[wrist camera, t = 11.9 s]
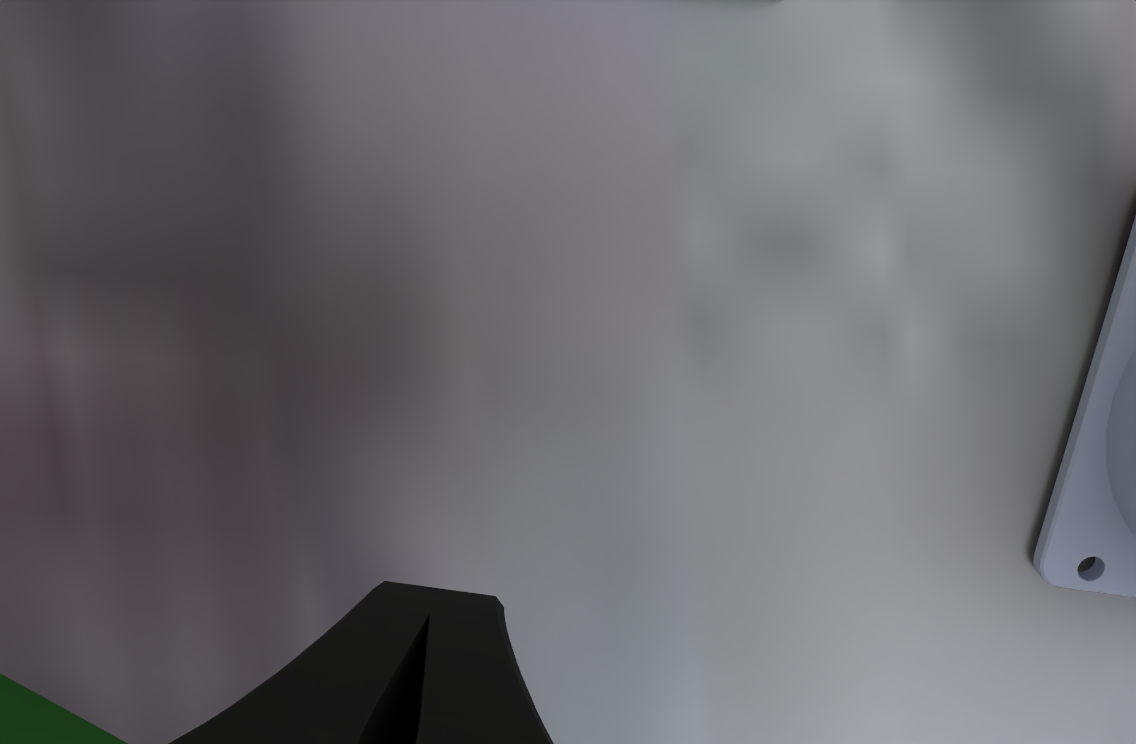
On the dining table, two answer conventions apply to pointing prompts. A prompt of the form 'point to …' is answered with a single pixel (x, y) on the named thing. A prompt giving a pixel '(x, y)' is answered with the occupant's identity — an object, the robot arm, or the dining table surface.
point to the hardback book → (42, 720)
